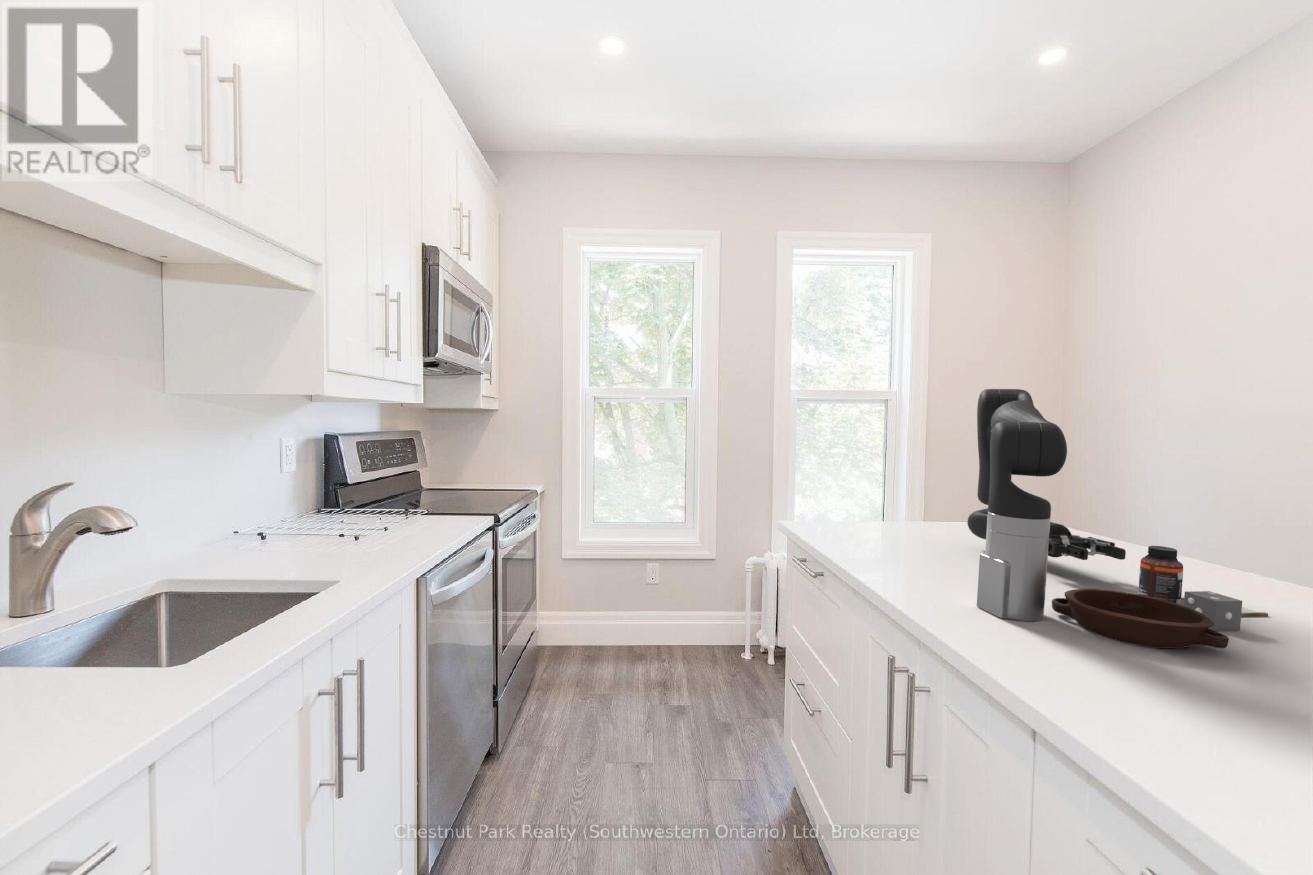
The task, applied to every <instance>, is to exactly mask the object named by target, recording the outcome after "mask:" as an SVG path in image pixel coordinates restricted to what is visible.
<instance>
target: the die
mask: <svg viewBox="0 0 1313 875" xmlns="http://www.w3.org/2000/svg"><path fill="white" fill-rule="evenodd" d="M1183 598H1184V606H1185V607H1188V608H1191V609H1194V610H1196V611H1198V612H1200V613H1201V614H1203V615H1205V616H1206V617H1208V618H1209V619H1210V620H1212V621H1213V623H1214V625H1213V626H1212V627H1210V628H1209V629H1211V630H1213V631H1216V632H1232V631H1233V632H1237V631H1241V622H1242V620H1241V619H1242V617H1241V611H1242V607H1243V600H1240V599H1238V598H1234V597H1231V596H1227V595H1225V594H1220V593H1218V592H1217V593H1216V592H1213V591H1210V590H1207V591H1204V590H1203V591H1202V590H1201V591H1198V590H1197V591H1191V590H1190V591H1184V597H1183Z"/></svg>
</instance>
